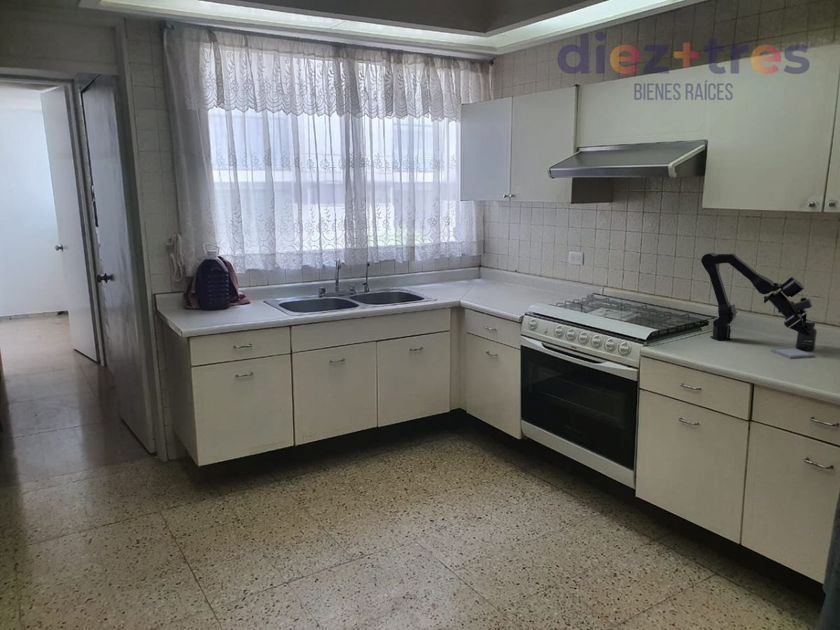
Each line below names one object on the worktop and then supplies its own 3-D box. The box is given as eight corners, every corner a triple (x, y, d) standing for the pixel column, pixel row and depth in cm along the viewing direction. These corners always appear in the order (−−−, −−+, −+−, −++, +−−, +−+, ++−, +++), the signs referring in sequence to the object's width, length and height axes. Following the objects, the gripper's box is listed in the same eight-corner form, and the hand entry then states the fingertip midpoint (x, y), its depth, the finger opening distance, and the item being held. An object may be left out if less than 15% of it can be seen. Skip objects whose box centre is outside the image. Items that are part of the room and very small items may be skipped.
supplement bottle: (805, 352, 256) (808, 323, 253) (791, 348, 262) (794, 320, 260) (818, 350, 258) (821, 322, 255) (804, 346, 264) (807, 319, 261)
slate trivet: (790, 358, 247) (790, 356, 247) (770, 351, 258) (770, 349, 258) (814, 356, 249) (815, 354, 249) (794, 349, 260) (794, 347, 259)
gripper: (796, 295, 250) (825, 325, 246) (803, 288, 264) (830, 317, 260) (772, 312, 257) (800, 342, 252) (780, 305, 271) (807, 333, 266)
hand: (810, 333), depth 258 cm, fingers open, 9 cm apart
